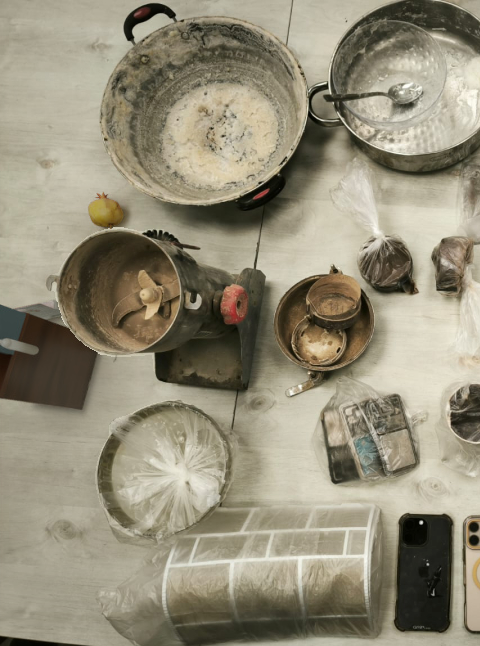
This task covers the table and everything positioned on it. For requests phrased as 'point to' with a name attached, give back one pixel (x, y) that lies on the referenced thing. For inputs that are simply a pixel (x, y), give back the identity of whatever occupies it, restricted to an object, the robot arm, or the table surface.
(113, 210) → the fruit
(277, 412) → the table surface
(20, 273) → the table surface
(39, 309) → the ink box
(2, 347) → the door
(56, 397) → the cabinet
